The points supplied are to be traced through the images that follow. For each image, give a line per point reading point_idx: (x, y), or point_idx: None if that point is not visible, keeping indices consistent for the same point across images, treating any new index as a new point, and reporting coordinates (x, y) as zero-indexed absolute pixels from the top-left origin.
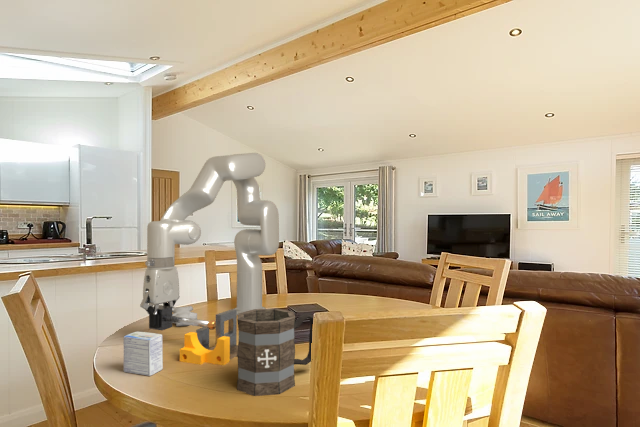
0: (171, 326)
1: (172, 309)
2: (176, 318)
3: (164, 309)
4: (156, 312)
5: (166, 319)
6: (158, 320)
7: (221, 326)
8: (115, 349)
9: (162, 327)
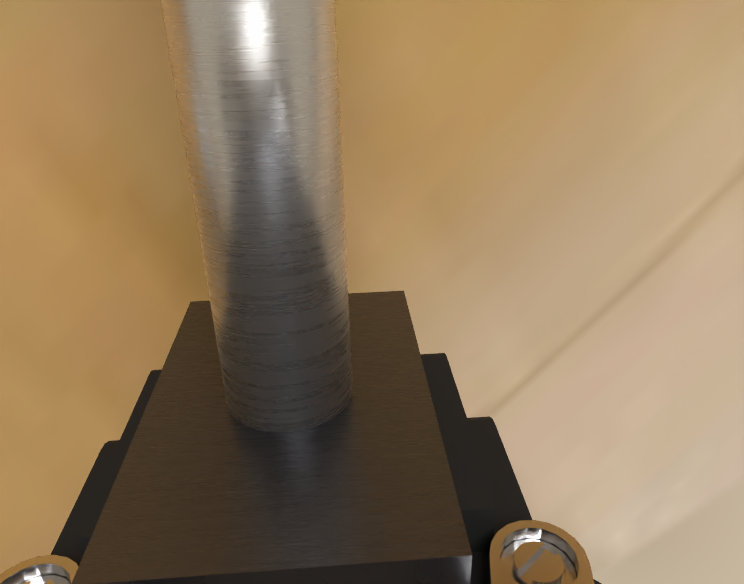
0: (205, 306)
1: (27, 569)
2: (322, 94)
3: (379, 547)
4: (526, 563)
5: (350, 350)
6: (453, 422)
7: None
8: (650, 454)
9: (398, 310)
